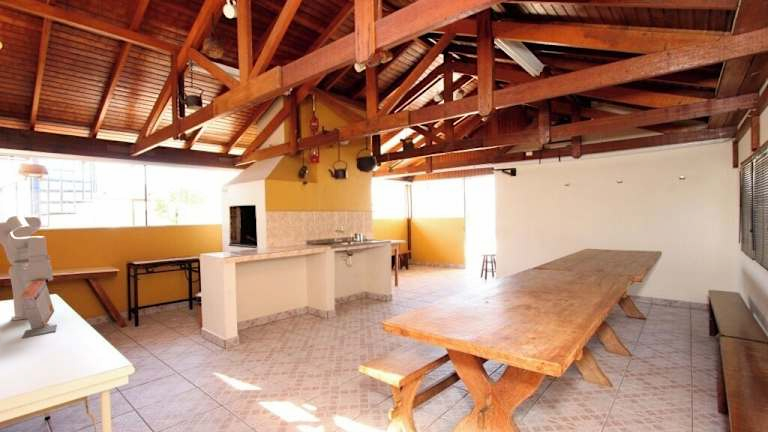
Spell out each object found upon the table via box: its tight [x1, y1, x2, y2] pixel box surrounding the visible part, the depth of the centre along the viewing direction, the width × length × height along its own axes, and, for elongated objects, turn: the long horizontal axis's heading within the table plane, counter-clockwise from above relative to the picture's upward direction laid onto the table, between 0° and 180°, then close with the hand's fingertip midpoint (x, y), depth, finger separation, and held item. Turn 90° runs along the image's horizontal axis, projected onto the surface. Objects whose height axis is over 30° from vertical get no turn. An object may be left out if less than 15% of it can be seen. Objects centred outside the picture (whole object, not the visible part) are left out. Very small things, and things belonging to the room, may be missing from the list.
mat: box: [21, 324, 58, 339], centre depth 187 cm, size 14×12×1 cm
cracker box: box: [20, 280, 55, 329], centre depth 194 cm, size 14×6×21 cm, turn 23°
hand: (41, 292), depth 200 cm, fingers closed
